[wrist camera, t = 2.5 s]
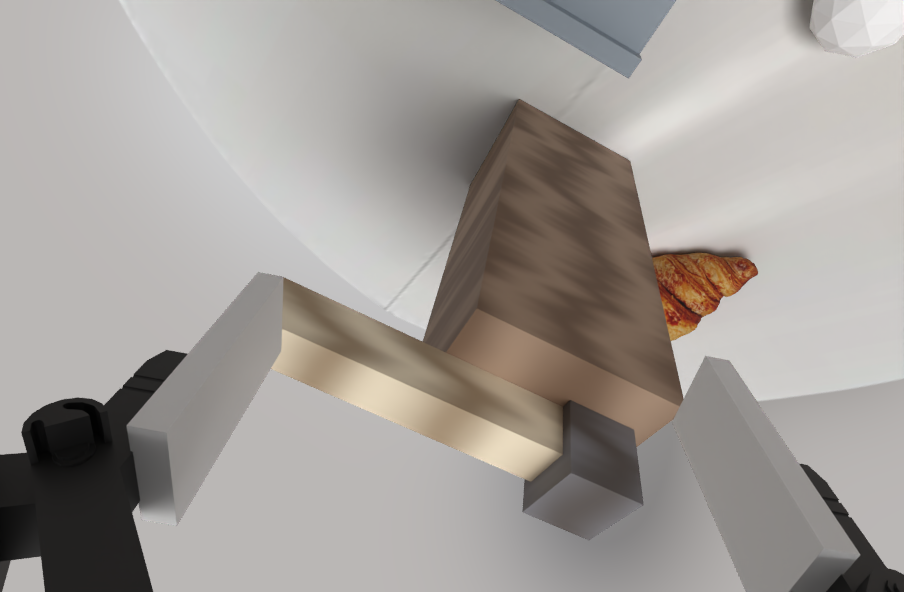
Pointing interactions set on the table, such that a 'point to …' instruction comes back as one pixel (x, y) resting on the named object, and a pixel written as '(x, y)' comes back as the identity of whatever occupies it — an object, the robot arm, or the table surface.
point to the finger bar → (466, 411)
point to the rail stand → (599, 26)
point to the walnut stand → (559, 278)
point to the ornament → (857, 25)
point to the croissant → (697, 286)
